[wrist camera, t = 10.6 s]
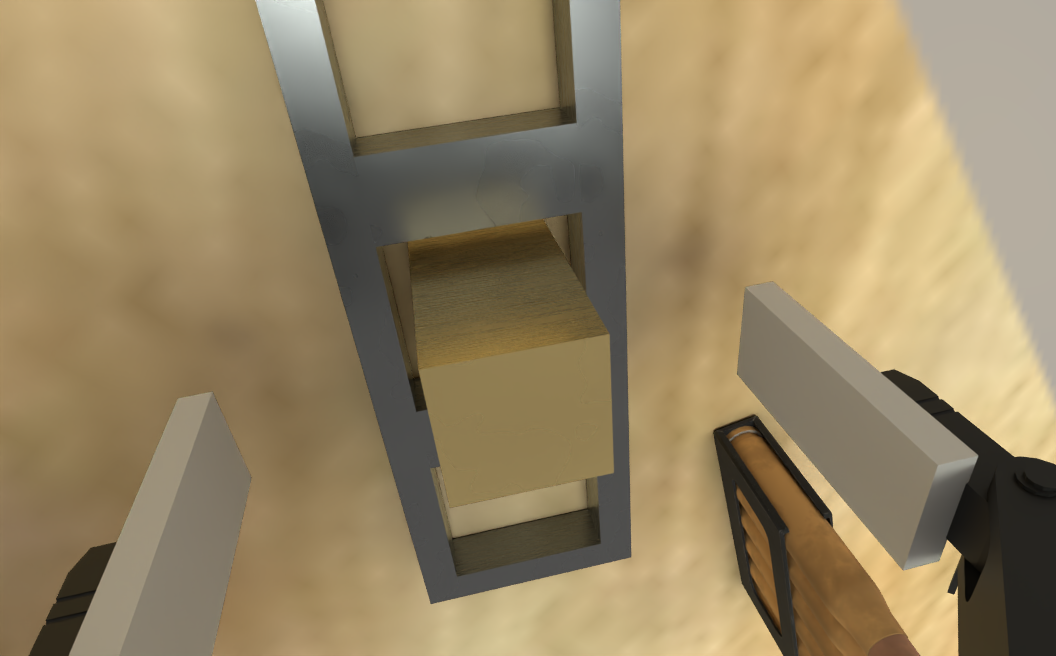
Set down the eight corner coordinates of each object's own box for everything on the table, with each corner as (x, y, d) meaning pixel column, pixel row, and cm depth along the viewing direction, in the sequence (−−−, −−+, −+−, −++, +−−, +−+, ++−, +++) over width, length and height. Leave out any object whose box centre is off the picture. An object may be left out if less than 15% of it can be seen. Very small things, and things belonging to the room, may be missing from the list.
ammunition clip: (712, 428, 25) (932, 751, 15) (756, 412, 25) (1004, 724, 15) (742, 584, 31) (915, 892, 21) (777, 570, 31) (968, 872, 21)
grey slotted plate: (428, 565, 26) (431, 603, 25) (219, -180, 13) (198, -196, 12) (617, 522, 27) (631, 557, 25) (590, -214, 14) (615, -233, 13)
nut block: (430, 348, 21) (449, 507, 15) (407, 235, 19) (418, 370, 13) (550, 326, 21) (614, 472, 16) (539, 214, 19) (609, 333, 13)
